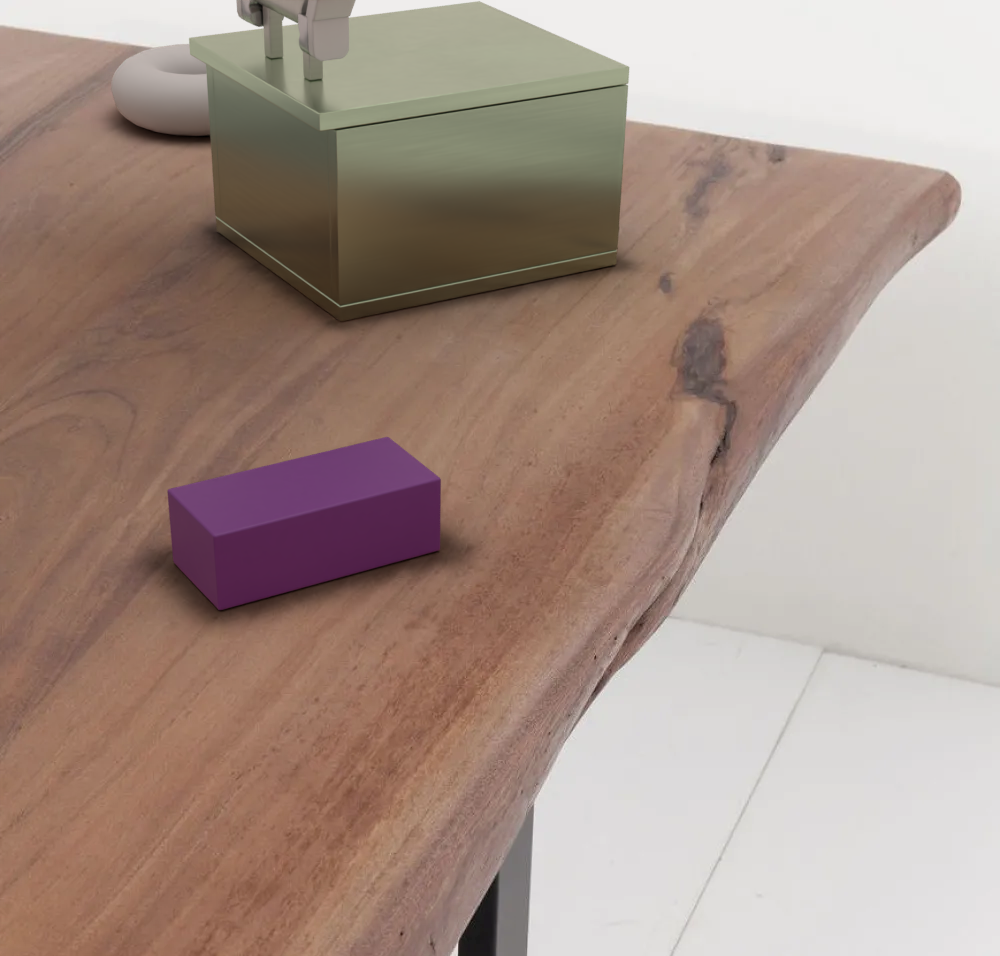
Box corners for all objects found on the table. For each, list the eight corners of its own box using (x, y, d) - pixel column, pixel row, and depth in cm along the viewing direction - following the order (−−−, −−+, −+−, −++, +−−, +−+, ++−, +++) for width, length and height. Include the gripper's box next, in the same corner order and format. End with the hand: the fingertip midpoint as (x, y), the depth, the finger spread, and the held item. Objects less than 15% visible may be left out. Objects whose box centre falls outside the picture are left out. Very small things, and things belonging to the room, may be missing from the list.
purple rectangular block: (218, 611, 66) (213, 535, 64) (172, 562, 69) (166, 488, 67) (441, 550, 70) (441, 477, 68) (388, 506, 73) (388, 435, 71)
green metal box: (340, 322, 87) (335, 130, 82) (215, 231, 97) (204, 53, 91) (617, 265, 94) (628, 85, 89) (475, 185, 103) (479, 18, 98)
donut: (95, 105, 114) (139, 150, 107) (89, 45, 112) (133, 87, 105) (253, 89, 117) (306, 132, 110) (250, 31, 116) (304, 71, 108)
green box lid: (319, 131, 82) (316, 21, 79) (189, 54, 91) (183, -47, 88) (628, 83, 89) (635, -19, 86) (479, 17, 98) (481, -78, 96)
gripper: (111, -332, 84) (138, -5, 92) (324, -273, 70) (333, 106, 78) (241, -336, 87) (255, -19, 95) (470, -280, 73) (464, 87, 81)
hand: (292, 39), depth 86 cm, fingers closed on green box lid, 5 cm apart
